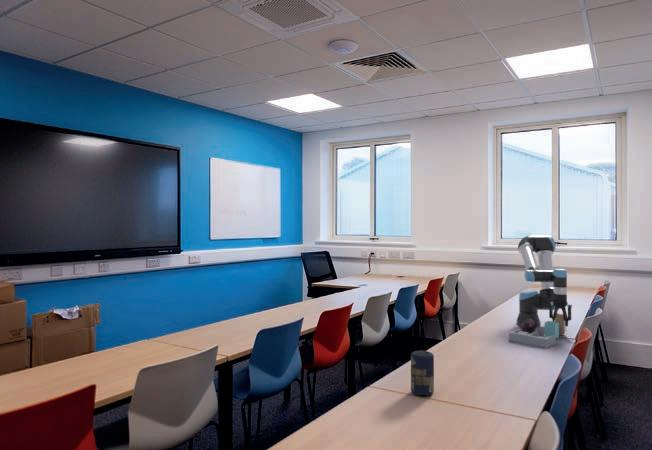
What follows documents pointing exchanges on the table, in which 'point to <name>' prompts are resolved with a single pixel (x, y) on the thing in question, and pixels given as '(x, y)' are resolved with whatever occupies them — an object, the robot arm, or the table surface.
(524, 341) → the lane rack
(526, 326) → the rock
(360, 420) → the table surface
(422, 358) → the canister
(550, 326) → the block
